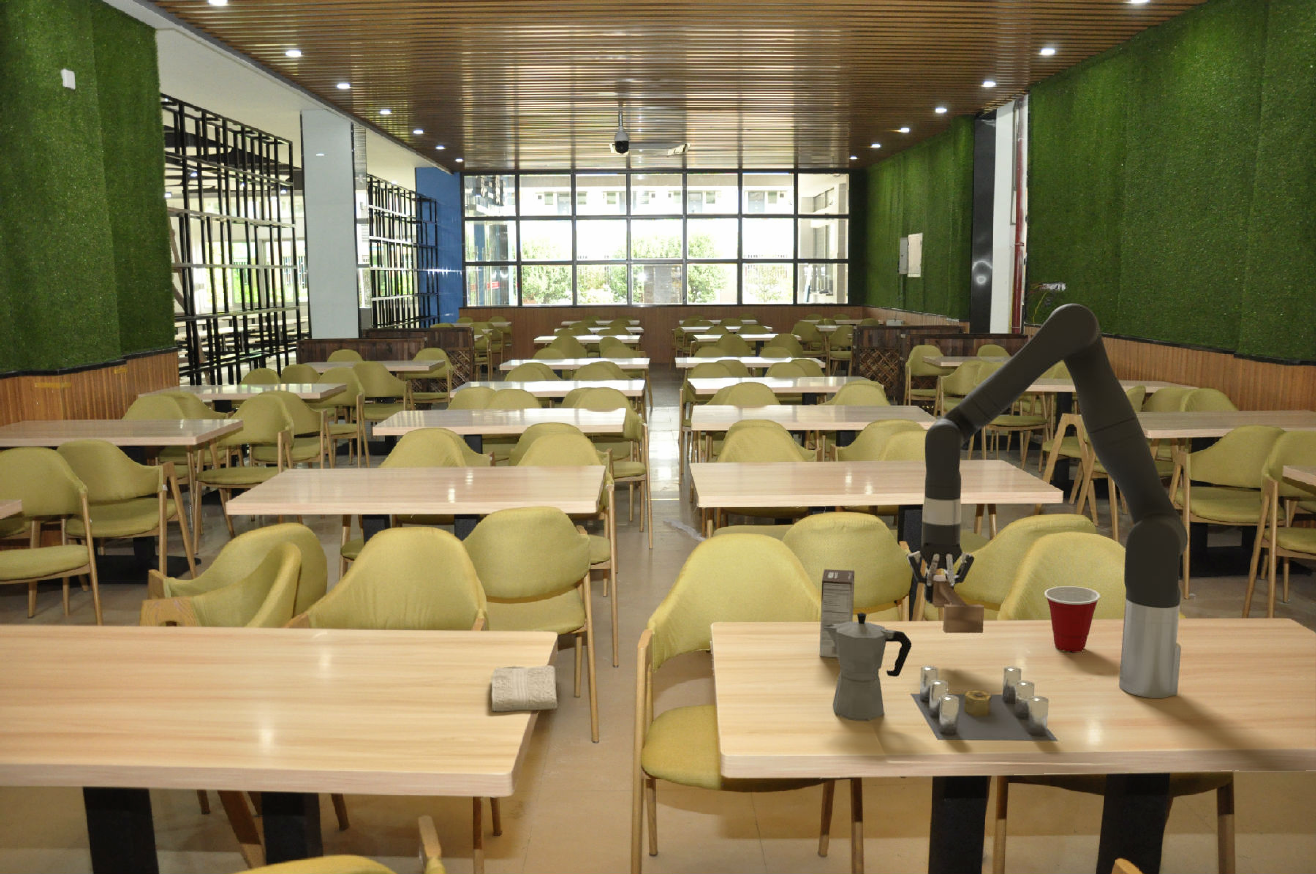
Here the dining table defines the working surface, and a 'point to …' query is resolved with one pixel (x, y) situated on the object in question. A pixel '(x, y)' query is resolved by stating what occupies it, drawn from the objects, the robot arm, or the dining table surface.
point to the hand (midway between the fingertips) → (938, 602)
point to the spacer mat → (985, 723)
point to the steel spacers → (1013, 693)
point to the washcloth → (523, 688)
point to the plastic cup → (1071, 615)
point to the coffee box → (835, 605)
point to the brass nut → (977, 703)
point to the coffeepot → (863, 666)
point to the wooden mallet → (956, 609)
